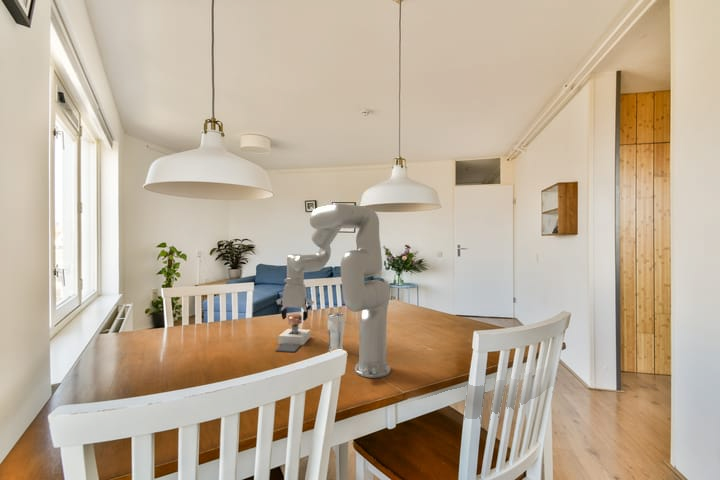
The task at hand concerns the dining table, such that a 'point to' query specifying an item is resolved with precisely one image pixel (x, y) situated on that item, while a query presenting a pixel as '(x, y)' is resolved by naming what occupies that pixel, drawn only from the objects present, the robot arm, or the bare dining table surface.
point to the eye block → (294, 337)
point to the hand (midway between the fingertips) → (294, 319)
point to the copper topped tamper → (294, 322)
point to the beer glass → (335, 330)
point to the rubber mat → (288, 348)
